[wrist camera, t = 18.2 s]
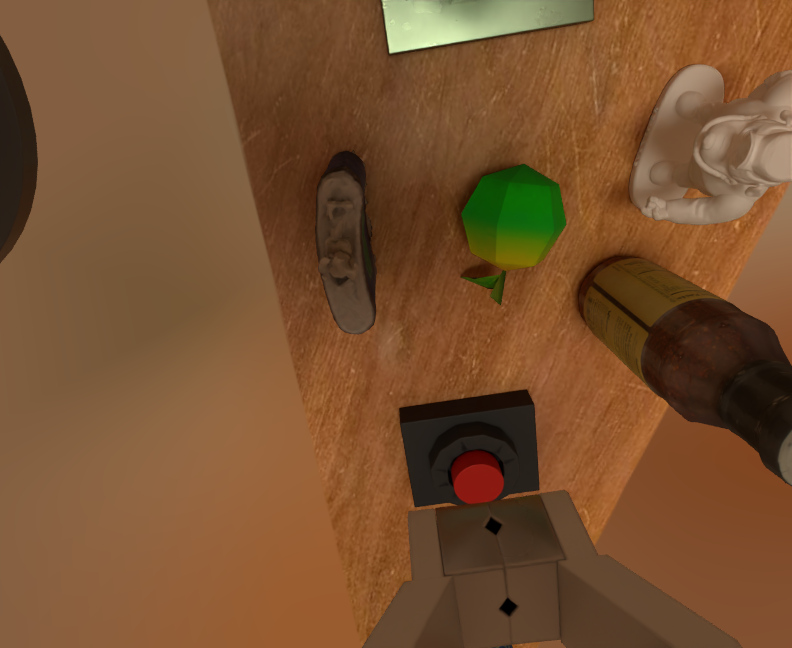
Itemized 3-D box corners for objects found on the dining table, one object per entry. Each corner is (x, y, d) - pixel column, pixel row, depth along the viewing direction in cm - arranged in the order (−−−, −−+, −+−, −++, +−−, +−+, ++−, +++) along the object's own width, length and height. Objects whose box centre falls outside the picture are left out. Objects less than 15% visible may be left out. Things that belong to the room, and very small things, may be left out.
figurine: (646, 51, 33) (776, 31, 22) (744, 76, 34) (918, 68, 23) (594, 199, 37) (685, 245, 26) (684, 219, 38) (810, 272, 27)
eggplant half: (379, 283, 39) (377, 348, 29) (337, 287, 39) (322, 353, 29) (365, 147, 35) (358, 168, 25) (319, 151, 35) (295, 173, 25)
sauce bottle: (624, 346, 41) (819, 548, 23) (556, 309, 40) (706, 492, 22) (681, 272, 39) (946, 431, 21) (612, 231, 38) (829, 361, 20)
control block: (413, 489, 46) (416, 523, 42) (399, 407, 43) (400, 437, 39) (532, 472, 46) (546, 506, 42) (527, 389, 42) (541, 417, 39)
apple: (539, 172, 29) (512, 330, 32) (599, 170, 33) (569, 310, 36) (441, 155, 34) (426, 295, 37) (503, 155, 38) (485, 281, 41)
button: (453, 492, 42) (456, 508, 40) (448, 453, 40) (451, 468, 39) (501, 485, 42) (505, 501, 40) (497, 446, 40) (502, 461, 39)
